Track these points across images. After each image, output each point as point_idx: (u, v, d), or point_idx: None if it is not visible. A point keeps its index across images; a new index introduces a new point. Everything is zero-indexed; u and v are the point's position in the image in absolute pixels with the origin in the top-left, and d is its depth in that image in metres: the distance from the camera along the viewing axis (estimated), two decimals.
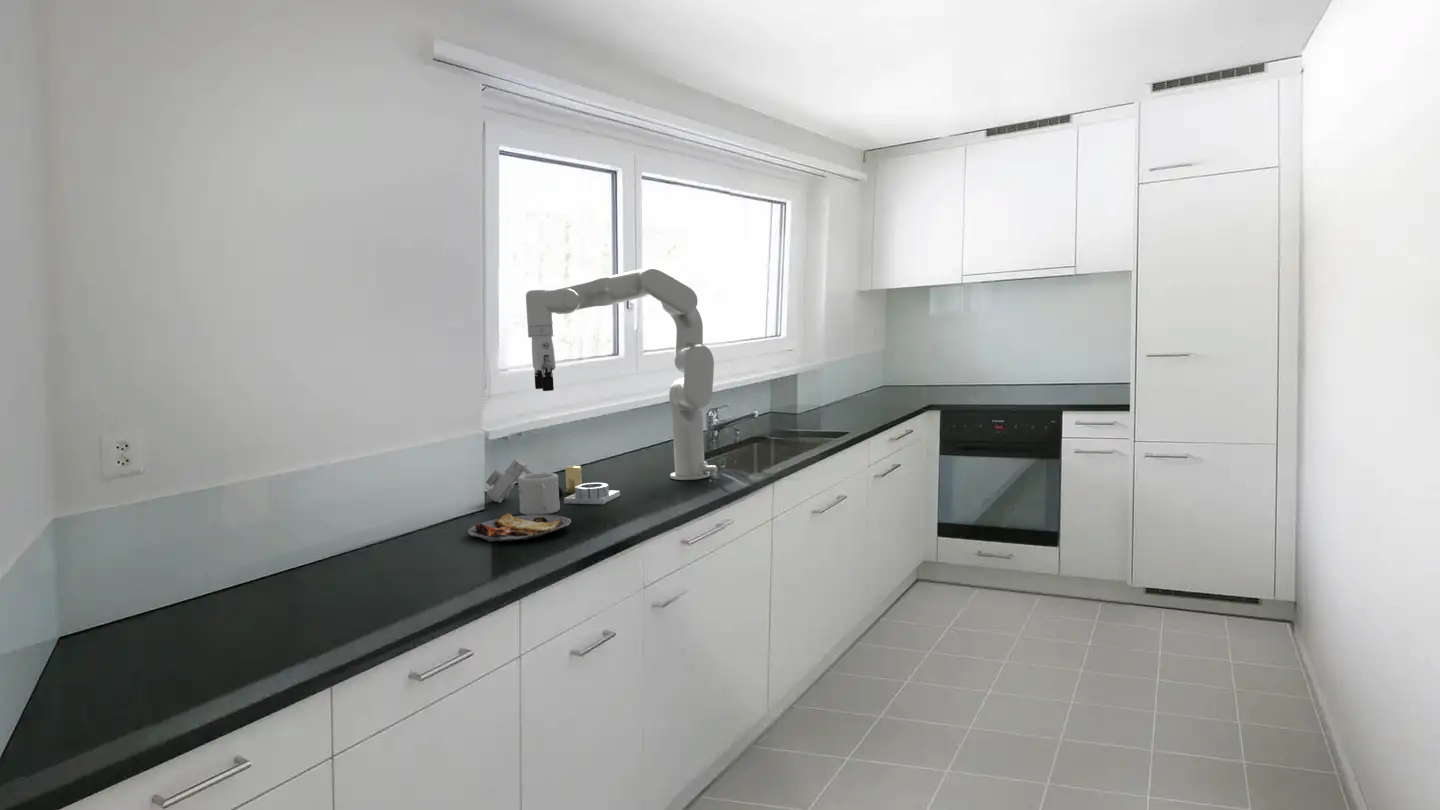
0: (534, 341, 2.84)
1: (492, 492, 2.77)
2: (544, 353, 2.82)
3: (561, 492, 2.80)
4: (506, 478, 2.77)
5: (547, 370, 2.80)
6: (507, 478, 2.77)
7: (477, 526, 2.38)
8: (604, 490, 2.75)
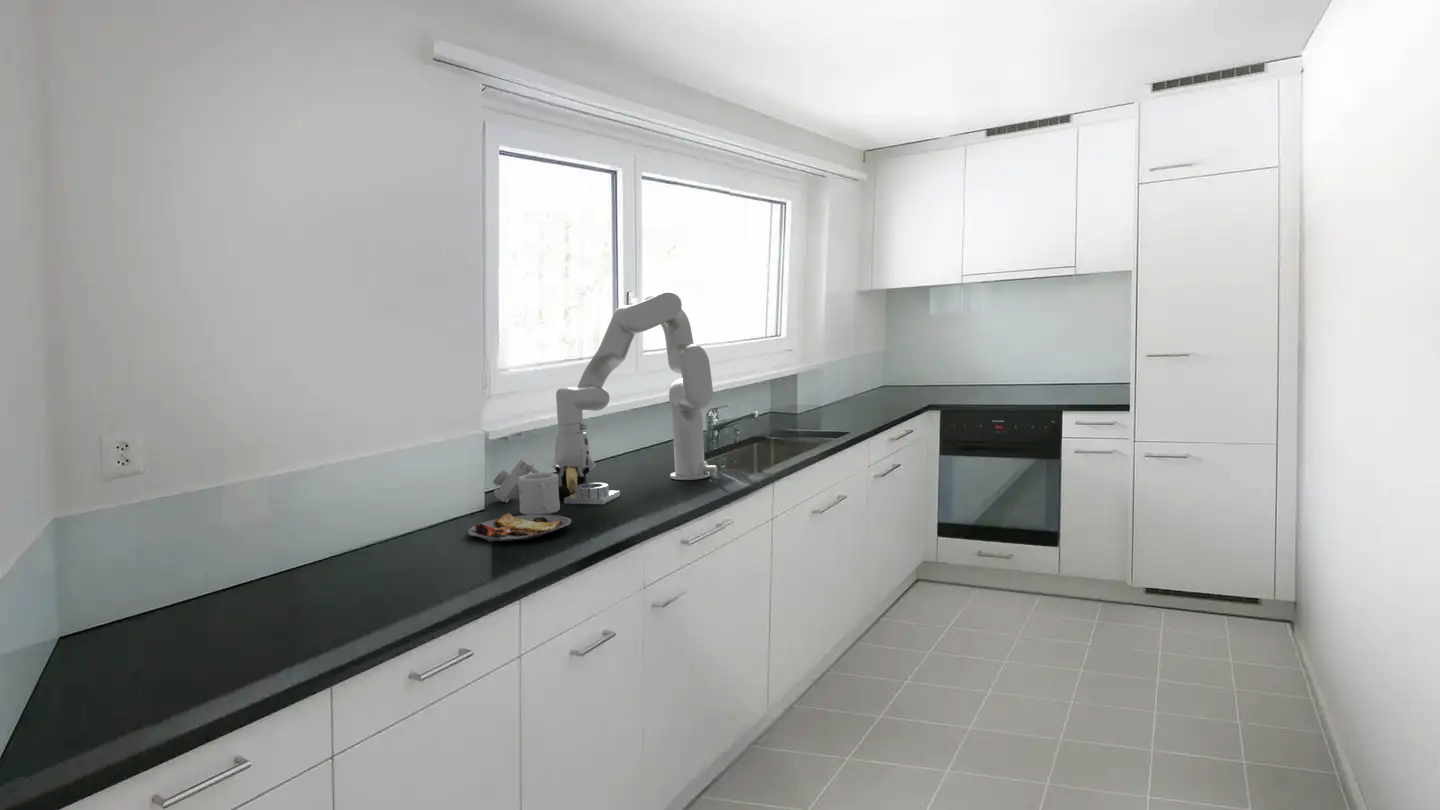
0: (572, 438, 2.88)
1: (499, 492, 2.77)
2: (586, 449, 2.89)
3: (568, 492, 2.79)
4: (513, 478, 2.77)
5: (588, 470, 2.89)
6: (514, 478, 2.77)
7: (477, 526, 2.38)
8: (604, 490, 2.75)
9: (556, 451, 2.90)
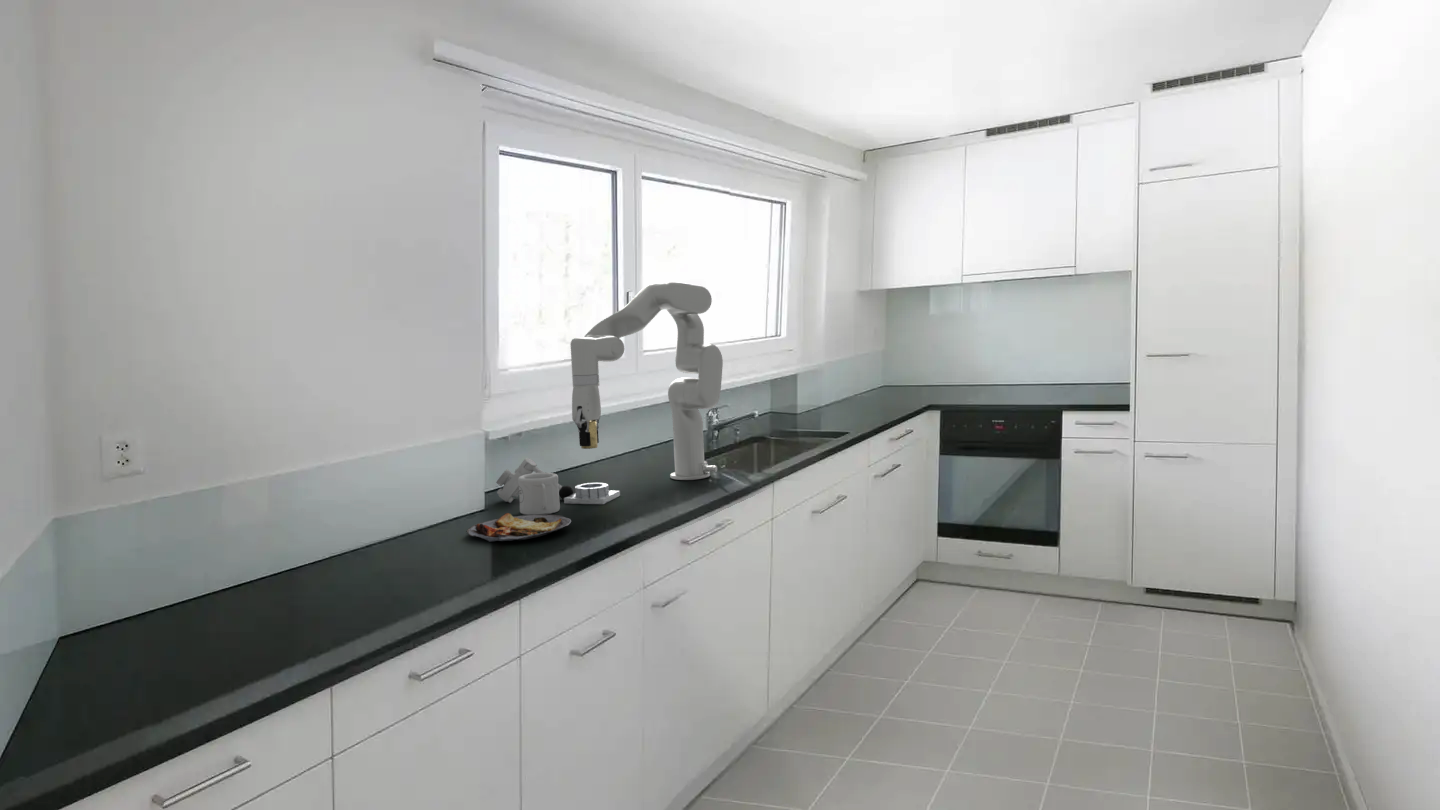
0: (596, 389, 2.76)
1: (503, 492, 2.76)
2: None
3: (572, 492, 2.79)
4: (517, 478, 2.77)
5: None
6: (517, 478, 2.77)
7: (477, 526, 2.38)
8: (604, 490, 2.75)
9: (587, 405, 2.71)
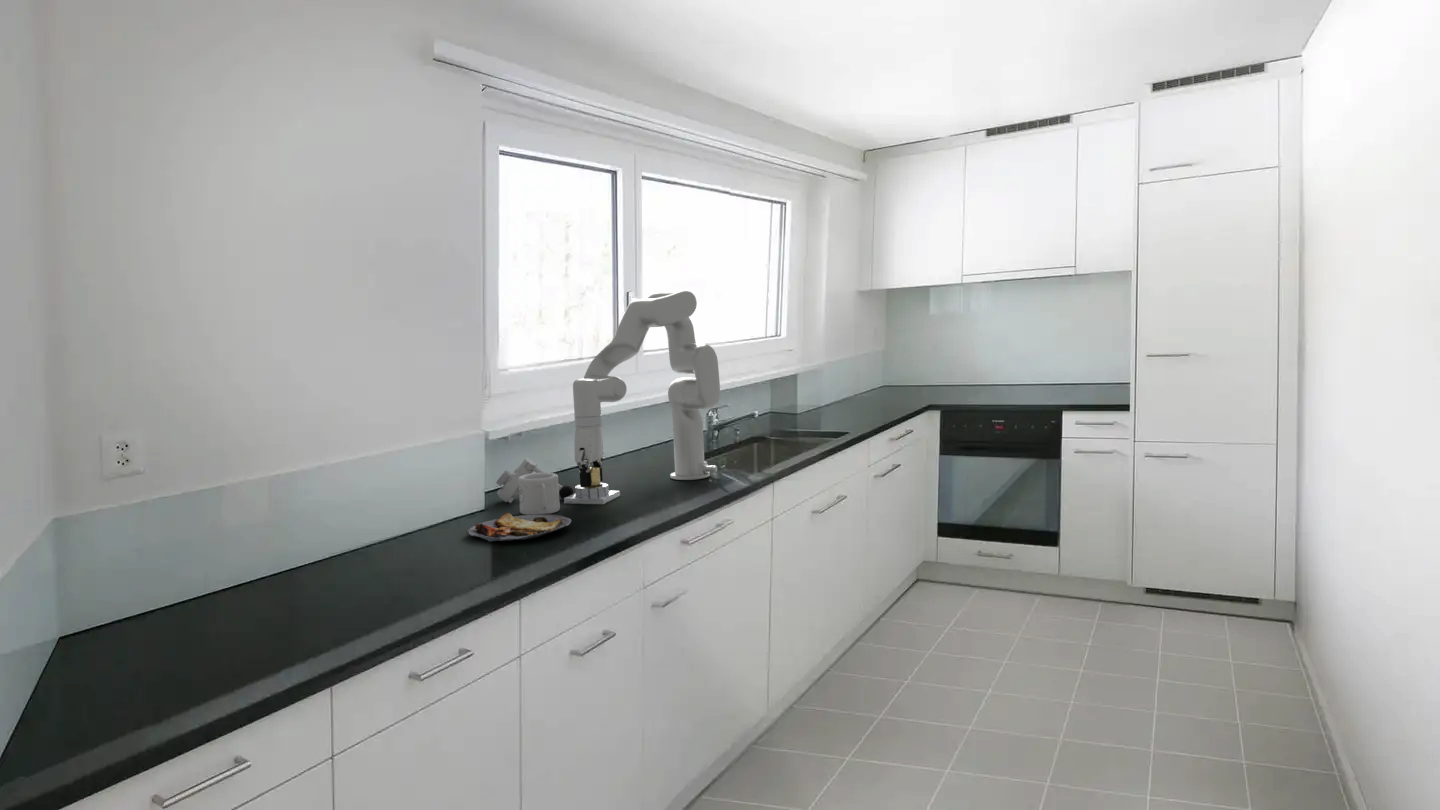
0: (598, 430, 2.77)
1: (503, 492, 2.76)
2: None
3: (572, 491, 2.80)
4: (517, 478, 2.76)
5: None
6: None
7: (477, 526, 2.38)
8: (604, 490, 2.75)
9: (590, 447, 2.72)
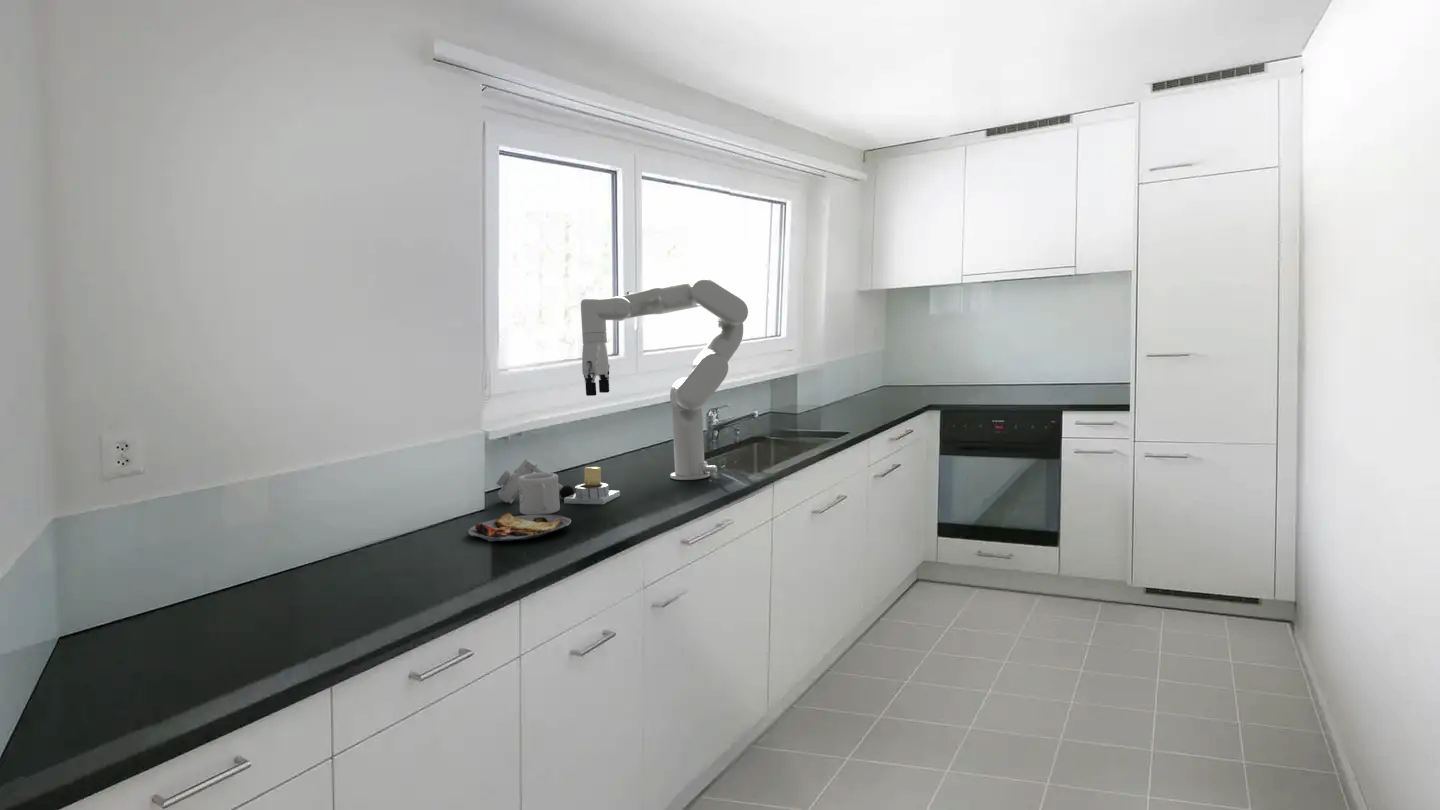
0: (604, 346, 2.99)
1: (504, 493, 2.75)
2: None
3: (573, 491, 2.80)
4: None
5: None
6: None
7: (477, 526, 2.38)
8: (604, 490, 2.75)
9: (596, 360, 2.94)
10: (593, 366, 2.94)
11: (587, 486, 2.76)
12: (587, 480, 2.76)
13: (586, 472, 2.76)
